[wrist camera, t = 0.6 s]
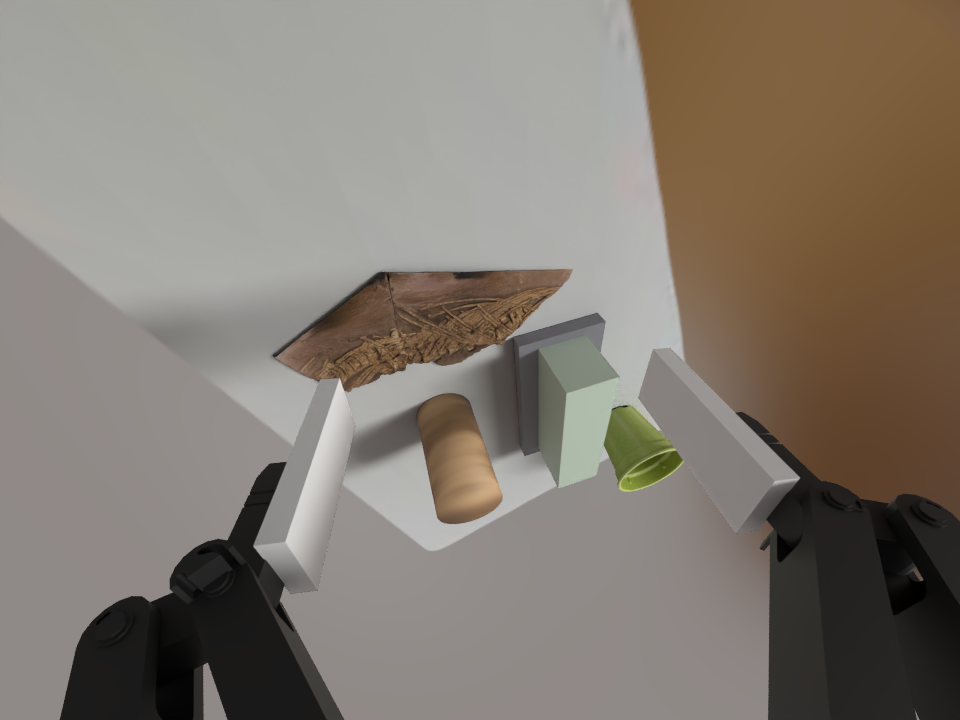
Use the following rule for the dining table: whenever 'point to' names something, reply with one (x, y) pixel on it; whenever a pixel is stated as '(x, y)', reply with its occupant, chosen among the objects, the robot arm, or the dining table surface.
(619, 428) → the plant pot
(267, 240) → the dining table surface
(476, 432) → the tan wooden cylinder
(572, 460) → the block
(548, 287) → the wooden fragment
